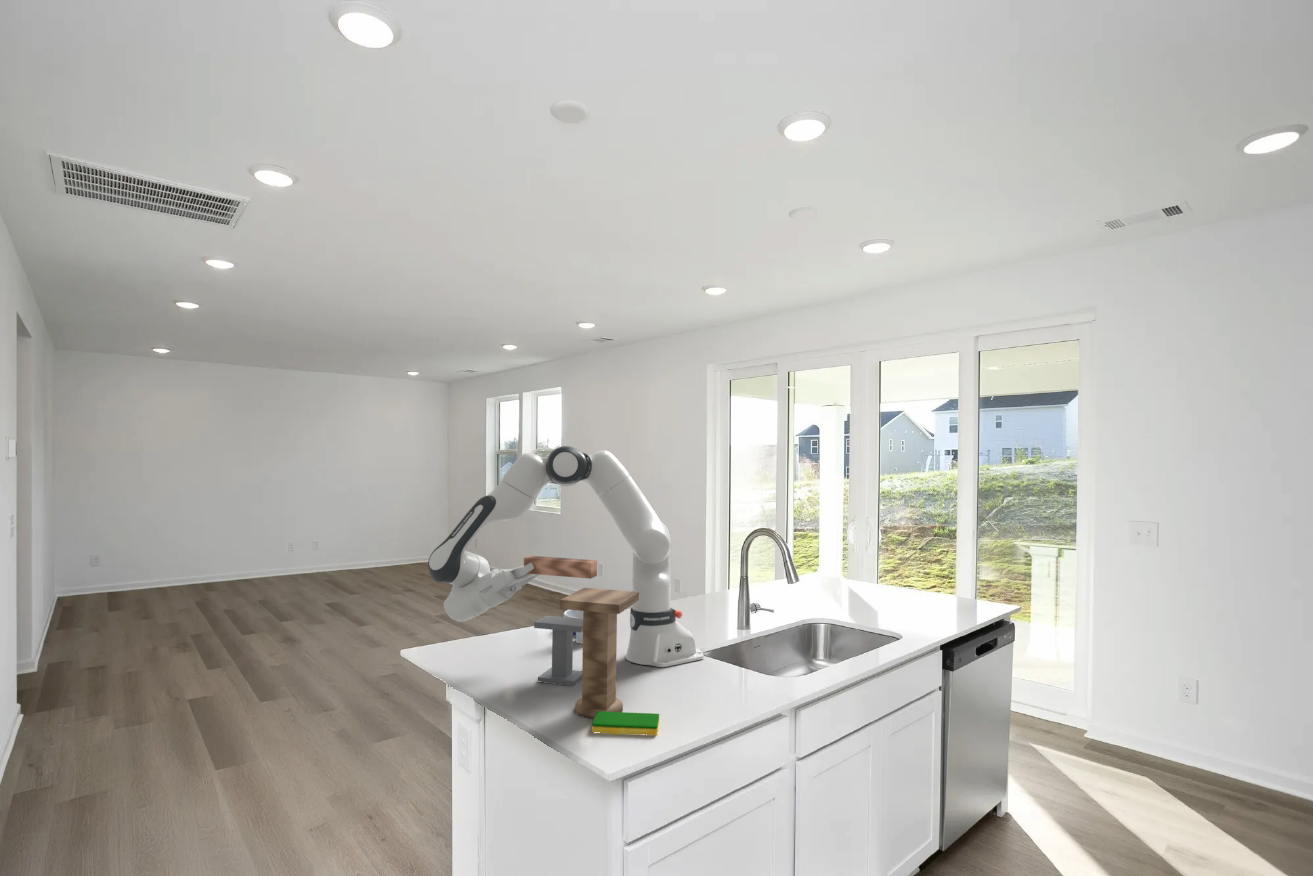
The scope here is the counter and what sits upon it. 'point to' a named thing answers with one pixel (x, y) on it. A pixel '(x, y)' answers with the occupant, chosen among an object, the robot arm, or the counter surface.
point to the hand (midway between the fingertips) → (538, 563)
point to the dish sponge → (626, 723)
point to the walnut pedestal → (599, 646)
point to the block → (562, 567)
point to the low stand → (561, 649)
